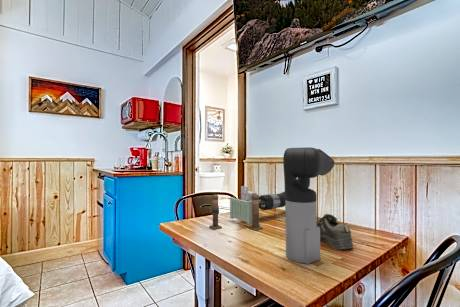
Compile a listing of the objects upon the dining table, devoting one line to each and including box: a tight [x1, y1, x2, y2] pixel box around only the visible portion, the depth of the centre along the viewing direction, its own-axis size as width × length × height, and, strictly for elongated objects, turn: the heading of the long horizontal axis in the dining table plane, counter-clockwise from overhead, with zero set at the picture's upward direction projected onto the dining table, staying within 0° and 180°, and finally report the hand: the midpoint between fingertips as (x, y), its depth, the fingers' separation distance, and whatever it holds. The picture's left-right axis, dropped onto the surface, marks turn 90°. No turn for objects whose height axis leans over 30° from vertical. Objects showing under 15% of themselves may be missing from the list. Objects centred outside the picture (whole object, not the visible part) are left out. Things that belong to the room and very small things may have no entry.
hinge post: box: [248, 192, 263, 231], centre depth 108 cm, size 4×4×15 cm
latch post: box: [208, 193, 222, 231], centre depth 110 cm, size 4×4×15 cm
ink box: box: [240, 185, 257, 201], centre depth 139 cm, size 9×5×15 cm, turn 25°
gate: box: [229, 196, 252, 226], centre depth 117 cm, size 15×2×10 cm, turn 35°
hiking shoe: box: [317, 213, 354, 250], centre depth 91 cm, size 9×21×12 cm, turn 19°
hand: (241, 205), depth 118 cm, fingers closed
